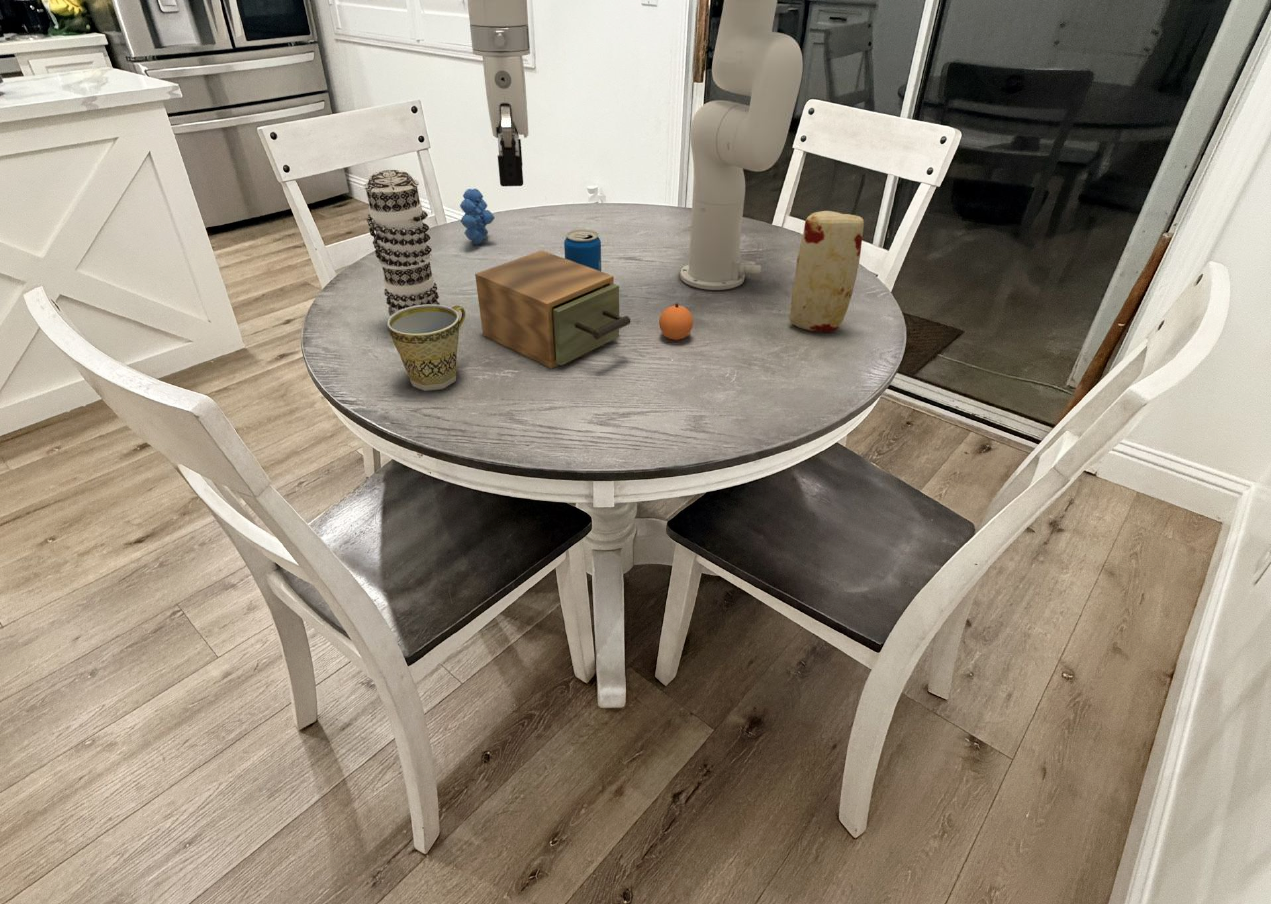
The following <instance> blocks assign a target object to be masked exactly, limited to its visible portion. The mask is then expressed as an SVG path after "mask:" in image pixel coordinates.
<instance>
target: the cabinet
mask: <svg viewBox="0 0 1271 904" xmlns="http://www.w3.org/2000/svg"><path fill="white" fill-rule="evenodd" d="M474 276H475V284H476V285H475V286H476V292H477V299H478V308H479V313H480V314H479V315H480V321H481V322H480V323H481V331H482V336H483V337H486V338H488V339H490V340H492V341H494V342H496V343H498V344H499V345H502V346H504V347H506V348H507V349H510V350H513V351H515V352H517V353H519V354H521V355H522V356H525V357H527V358H529V359H531V360H533V361H535V362H537V363H540V364H541V365H544V366H546V367H547V368H549V369H553V368H555V367H557V366H561V365H560V364H558V363H556V355H555V350H554V335H553V320H552V307H554V306H556V305H559V304H561V303H563V302H566V301H568V300H570V299H573V298H575V297H578V296H580V295H582V294H585V293H587V292H589V291H592V290H594V289H596V288H599V287H601V286H603V288H605V287H607V286H609V285H612V284H615V283H614V282H615V281H614V280H615V279H614V278H615V277H614V275H613V274H612V275H611V274H609V273H606V272H604V271H602V270H601V271H598V270H595V269H592V268H590V267H587V266H584V265H581V264H579V263H576V262H573V261H570V260H567V259H565V257H561V256H559V255H556V254H553V253H551V252H548V251H545V250H539V251H535V252H533V253H530V254H527V255H525V256H522V257H519V258H516V259H513V260H510V261H507V262H505V263H502V264H499V265H496V266H493V267H491V268H488V269H485V270H482V271H478V272H476V273H474Z"/></svg>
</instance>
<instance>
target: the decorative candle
mask: <svg viewBox="0 0 1271 904" xmlns="http://www.w3.org/2000/svg"><path fill="white" fill-rule="evenodd" d="M419 185H420V182H419V180H417V179H414V178H413V177H412V175H411V174H410V173H408V172H407V171H404V170H400V169H386V170H379V171H377V172H374V173H372V174H371V175H370V177H369V178H368V181H367V182H366V183H364V184H363V189H365V192H366V196H367V201H368V208H367V209H368V214H367V217H366V222H367V225H368V226H369V228H368V231H369V235H370V236H371V237H373V240H372V245H373V248H374V249H375V250H374V253H375V257H376V259H377V264H378V265H379V266H380V267H381V268H382V273H383V276H384V278H383V284H384V291H383V292H384V295H385V297H386V298H385V299H386V304H387V305H388V308H387V313H388V315H389V317H390V316H391V315H393V314H394V313H396V312H397V311H399V310H402V309H405V308H408V307H412V306H417V305H425V304H436V305H441V302H440V301H438V300H439V298H440V297H439V296H440V295H439V293H438V291H437V290H438V285H437V283H436V282H435V277H434V273H433V272H432V266H431V261H432V259H433V254H432V253H431V252H432V248H431V246H429V245H428V244H427V243H428V242H429V241H430V240H431V235H430V234H429V233H427V232H428V231H429V230H430V226H429V225H428V224H426V222H423V221H424V220H425V219H426V218H428V217H429V214H428V213H427V212H426V211H425V210H423V204H422V201H420V196H419V195H420V194H419V189H418V186H419Z"/></svg>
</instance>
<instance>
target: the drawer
mask: <svg viewBox="0 0 1271 904" xmlns="http://www.w3.org/2000/svg"><path fill="white" fill-rule="evenodd" d="M552 320H553V335H554V350H555V355H556V363H558V364H560V365H559V366H564V365H566V364H567V363H569V362H571V361H574V360H575V359H578V358H580V357H582V356H583V355H586V354H587V353H590V352H591V351H593V350H595V349H597V348H599V347H601V346H604V345H605V344H607V343H610V342H611V341H613V340H615V339H617V338H620V329H623V328H624V327H626V326H629V325H630V324H631V318H630V316H628V315H624V316H620V286H619V284H615V283H614V284H612V285H609V286H607V287H605V288H603V286H601V287H599V288H596V289H594V290H592V291H589V292H587V293H585V294H582V295H580V296H578V297H575V298H573V299H570V300H568V301H566V302H563V303H561V304H559V305H556V306H554V307H552Z"/></svg>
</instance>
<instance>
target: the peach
mask: <svg viewBox="0 0 1271 904" xmlns="http://www.w3.org/2000/svg"><path fill="white" fill-rule="evenodd" d="M658 321H659V322H658V326H659V330H660V332H661V333H662V334H663V335H664V336H665V337H666V338H668V339H670V340H674V341H677V340H682V339H684V338H686V337H688V336H689V334H690V333H691V332H692V330H693V326H694V317H693V315H692V313H691V311H689V310H688V308H686V307H685V306H682V305H679V302H676V303H675V304H674V305H670V306H668V307H666V308H665V309H664V310H662V313H661V314H660V316H659V319H658Z"/></svg>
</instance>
